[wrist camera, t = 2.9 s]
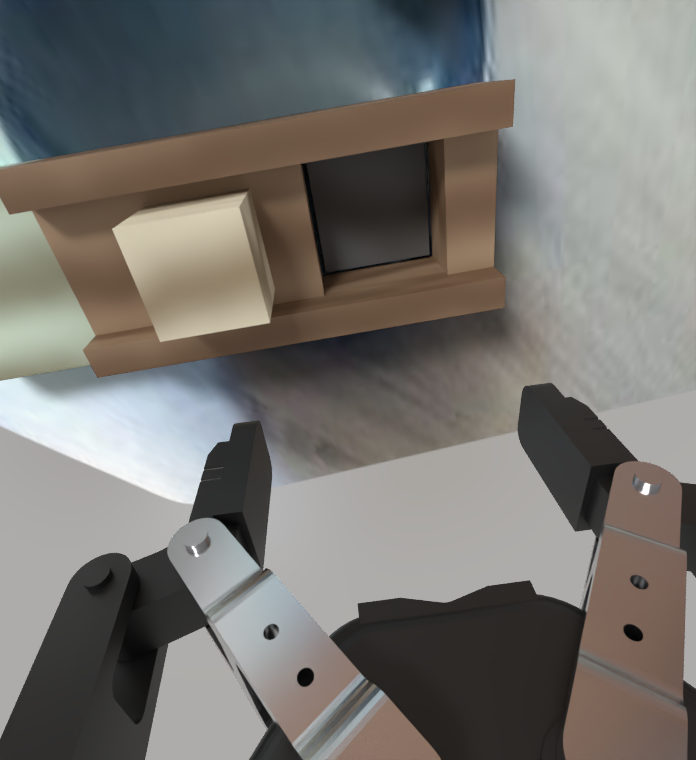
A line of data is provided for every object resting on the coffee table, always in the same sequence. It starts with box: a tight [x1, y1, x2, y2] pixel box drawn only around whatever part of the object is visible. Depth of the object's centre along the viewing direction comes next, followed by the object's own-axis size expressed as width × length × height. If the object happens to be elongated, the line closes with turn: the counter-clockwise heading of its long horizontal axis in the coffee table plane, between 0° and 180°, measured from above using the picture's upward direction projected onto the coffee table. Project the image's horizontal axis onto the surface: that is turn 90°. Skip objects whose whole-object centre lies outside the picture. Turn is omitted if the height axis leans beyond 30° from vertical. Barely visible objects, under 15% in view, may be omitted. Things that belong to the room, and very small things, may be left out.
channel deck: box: [0, 79, 515, 381], centre depth 27 cm, size 12×36×6 cm, turn 98°
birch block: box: [112, 188, 275, 342], centre depth 24 cm, size 6×6×5 cm
